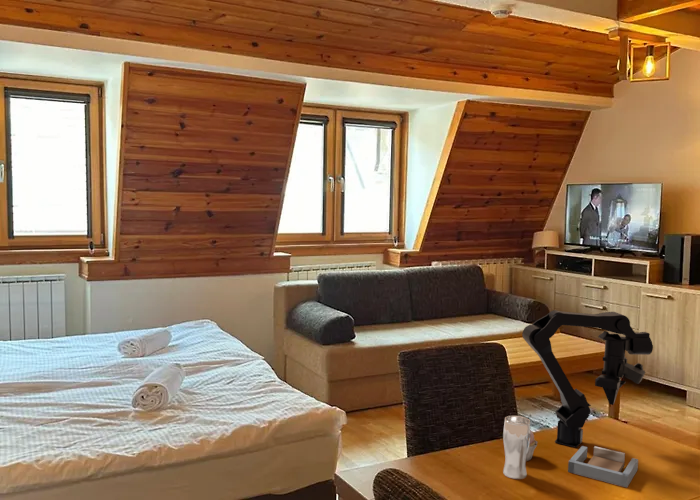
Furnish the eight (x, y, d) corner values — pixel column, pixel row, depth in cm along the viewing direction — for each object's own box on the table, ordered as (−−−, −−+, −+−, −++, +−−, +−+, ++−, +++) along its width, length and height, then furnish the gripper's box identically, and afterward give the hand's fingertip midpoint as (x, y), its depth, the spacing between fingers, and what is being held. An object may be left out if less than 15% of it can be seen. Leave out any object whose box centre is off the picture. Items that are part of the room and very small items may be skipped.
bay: (567, 471, 170) (568, 461, 170) (581, 455, 181) (582, 445, 181) (627, 487, 161) (627, 476, 161) (637, 469, 172) (638, 459, 172)
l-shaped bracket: (584, 471, 170) (585, 457, 170) (594, 459, 178) (594, 446, 178) (616, 480, 166) (617, 465, 165) (624, 467, 174) (624, 453, 173)
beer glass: (513, 482, 163) (516, 426, 162) (496, 471, 169) (498, 417, 168) (533, 477, 166) (536, 422, 165) (515, 466, 172) (518, 413, 171)
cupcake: (521, 448, 185) (523, 415, 184) (543, 460, 177) (545, 426, 176) (496, 453, 181) (497, 419, 180) (517, 466, 173) (519, 430, 172)
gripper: (637, 365, 177) (633, 418, 178) (649, 352, 192) (646, 402, 193) (596, 358, 183) (593, 410, 185) (611, 347, 199) (608, 395, 200)
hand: (611, 404), depth 190 cm, fingers closed
